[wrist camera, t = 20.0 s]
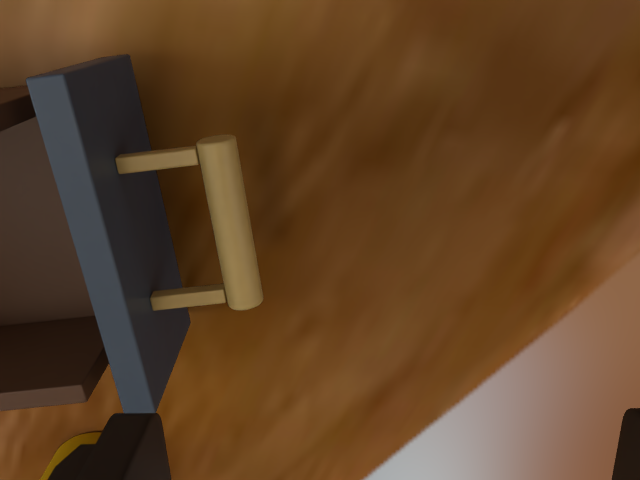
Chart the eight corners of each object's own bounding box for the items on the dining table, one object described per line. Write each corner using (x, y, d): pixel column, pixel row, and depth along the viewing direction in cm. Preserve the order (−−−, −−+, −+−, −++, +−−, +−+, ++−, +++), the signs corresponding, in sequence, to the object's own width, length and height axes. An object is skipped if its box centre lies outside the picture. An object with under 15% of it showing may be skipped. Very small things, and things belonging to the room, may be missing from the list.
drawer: (236, 40, 24) (207, 55, 17) (280, 313, 28) (270, 403, 22) (-242, 99, 24) (-435, 135, 18) (-122, 356, 29) (-243, 455, 23)
